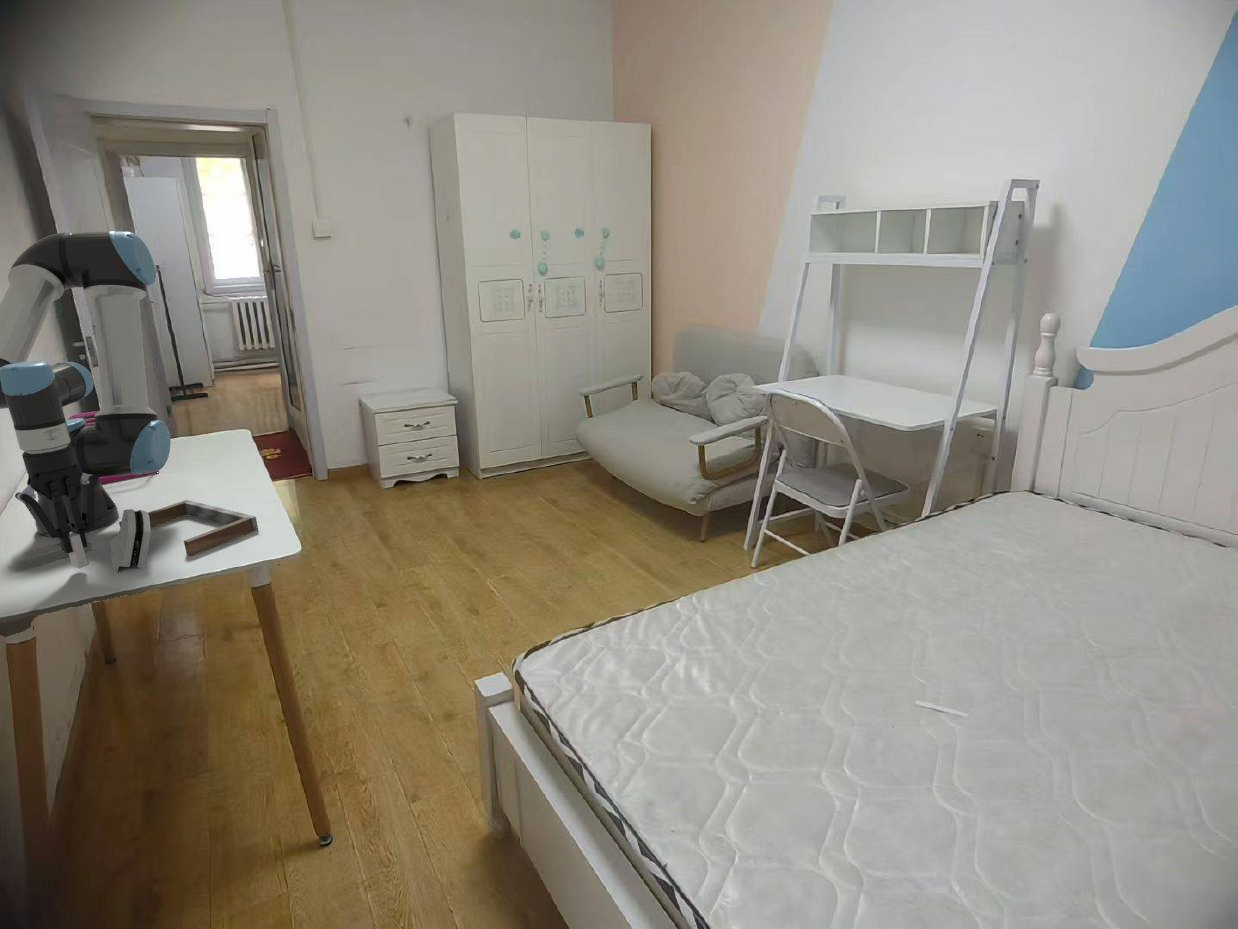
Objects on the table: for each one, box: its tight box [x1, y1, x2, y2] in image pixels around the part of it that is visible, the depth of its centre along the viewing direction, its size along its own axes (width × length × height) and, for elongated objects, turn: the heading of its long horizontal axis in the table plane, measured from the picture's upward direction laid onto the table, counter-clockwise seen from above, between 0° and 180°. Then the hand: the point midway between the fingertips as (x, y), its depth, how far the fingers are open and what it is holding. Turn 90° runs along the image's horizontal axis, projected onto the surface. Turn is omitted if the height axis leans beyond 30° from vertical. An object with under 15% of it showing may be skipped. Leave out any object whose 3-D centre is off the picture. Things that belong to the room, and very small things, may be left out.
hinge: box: [110, 508, 151, 574], centre depth 148 cm, size 17×5×10 cm, turn 36°
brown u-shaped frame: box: [118, 499, 259, 557], centre depth 159 cm, size 25×15×3 cm, turn 61°
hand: (80, 565), depth 141 cm, fingers closed
